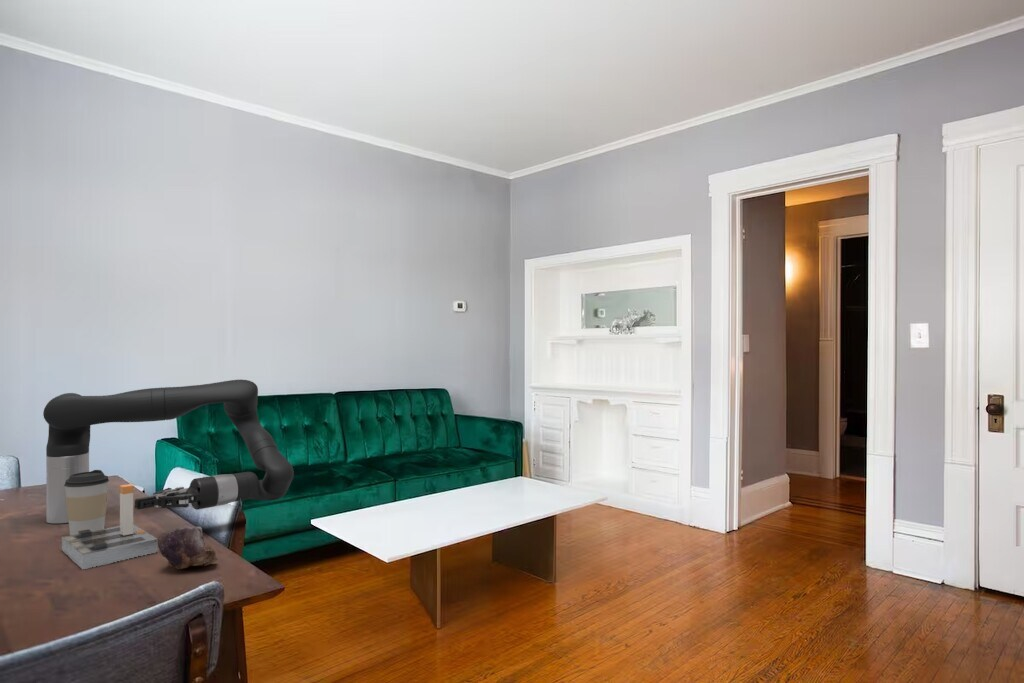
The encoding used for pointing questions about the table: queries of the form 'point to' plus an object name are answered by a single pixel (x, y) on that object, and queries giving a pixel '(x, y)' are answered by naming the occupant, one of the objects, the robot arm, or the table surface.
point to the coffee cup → (86, 501)
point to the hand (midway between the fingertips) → (135, 504)
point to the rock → (186, 548)
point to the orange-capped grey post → (126, 509)
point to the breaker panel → (107, 546)
